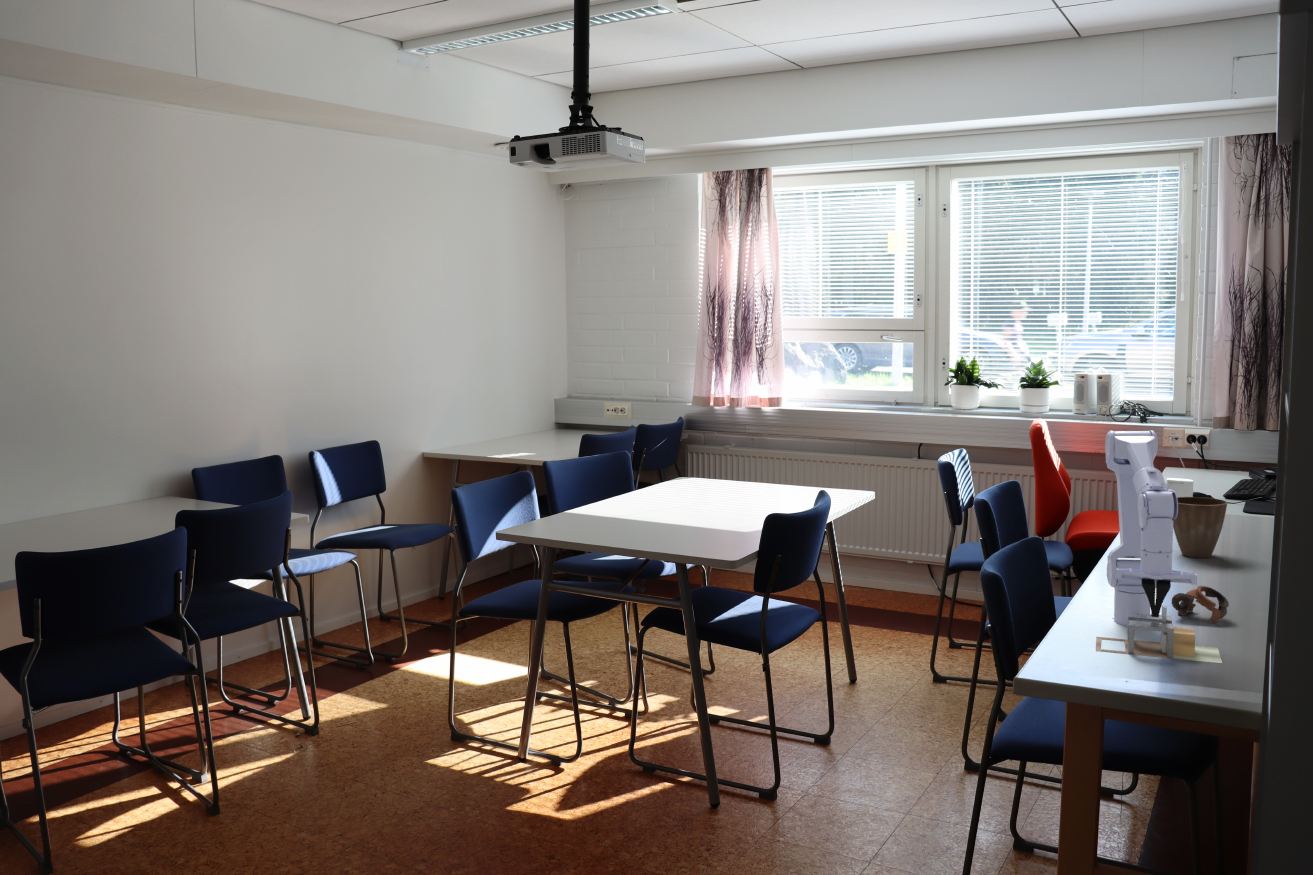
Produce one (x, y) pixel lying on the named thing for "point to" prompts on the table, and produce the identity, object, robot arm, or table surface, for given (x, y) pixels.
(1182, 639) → the block
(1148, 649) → the board
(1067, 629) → the table surface
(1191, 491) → the skincare box
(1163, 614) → the paddle
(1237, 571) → the table surface
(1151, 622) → the tunnel
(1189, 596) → the brown headphones
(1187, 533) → the plant pot
